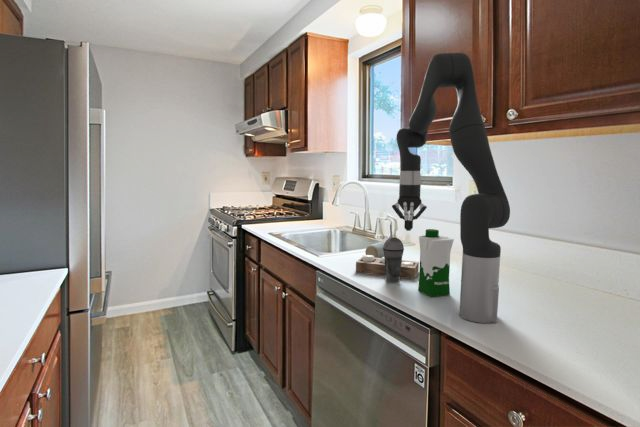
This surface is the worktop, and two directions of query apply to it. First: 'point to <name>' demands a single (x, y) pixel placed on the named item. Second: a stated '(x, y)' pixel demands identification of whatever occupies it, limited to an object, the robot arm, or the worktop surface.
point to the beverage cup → (393, 258)
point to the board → (379, 268)
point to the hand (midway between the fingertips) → (408, 230)
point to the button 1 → (368, 258)
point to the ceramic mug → (375, 250)
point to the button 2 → (407, 263)
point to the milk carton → (434, 263)
